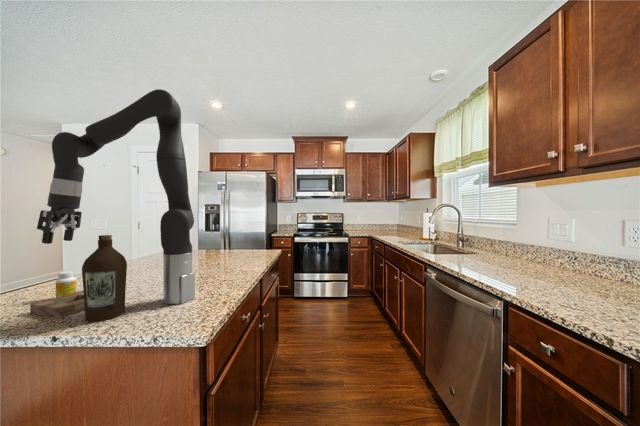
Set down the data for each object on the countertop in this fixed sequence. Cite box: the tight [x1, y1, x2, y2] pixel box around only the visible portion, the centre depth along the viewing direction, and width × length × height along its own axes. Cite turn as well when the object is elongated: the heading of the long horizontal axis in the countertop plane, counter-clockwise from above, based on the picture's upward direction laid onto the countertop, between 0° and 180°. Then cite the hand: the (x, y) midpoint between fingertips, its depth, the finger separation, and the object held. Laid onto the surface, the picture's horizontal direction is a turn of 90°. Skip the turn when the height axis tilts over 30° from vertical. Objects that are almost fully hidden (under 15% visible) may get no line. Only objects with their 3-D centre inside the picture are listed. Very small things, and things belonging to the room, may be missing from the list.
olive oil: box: [81, 234, 128, 323], centre depth 77 cm, size 11×11×25 cm
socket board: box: [29, 290, 85, 319], centre depth 84 cm, size 14×14×3 cm
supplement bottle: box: [55, 270, 77, 298], centre depth 93 cm, size 5×5×10 cm
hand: (57, 242), depth 82 cm, fingers open, 8 cm apart
